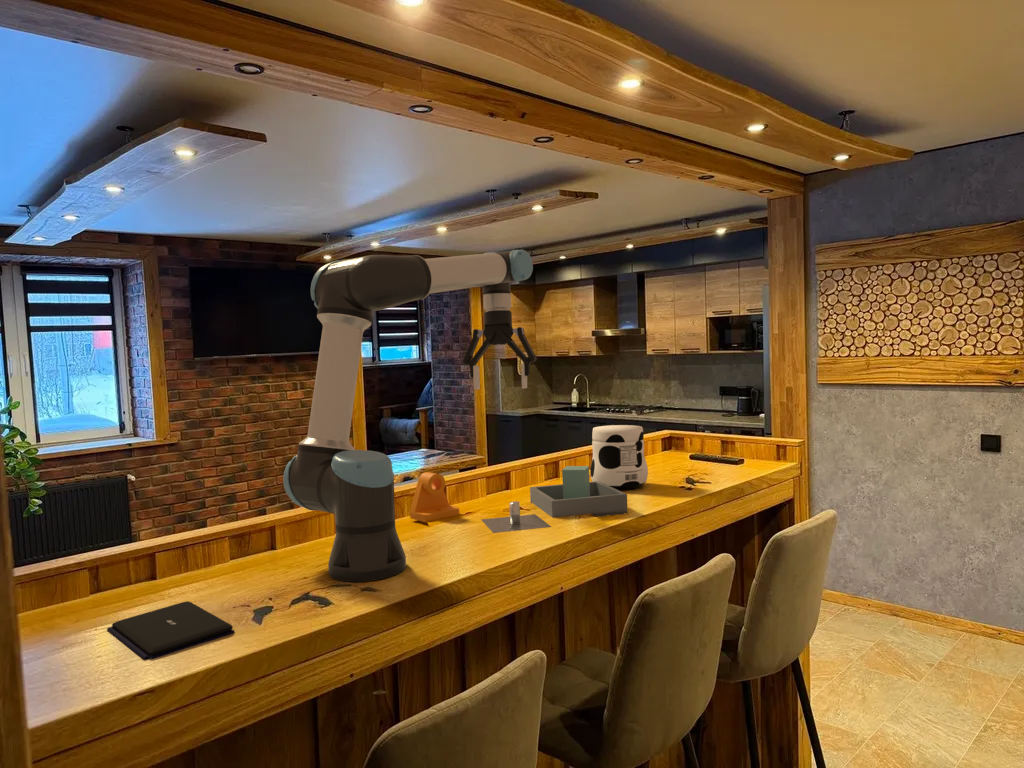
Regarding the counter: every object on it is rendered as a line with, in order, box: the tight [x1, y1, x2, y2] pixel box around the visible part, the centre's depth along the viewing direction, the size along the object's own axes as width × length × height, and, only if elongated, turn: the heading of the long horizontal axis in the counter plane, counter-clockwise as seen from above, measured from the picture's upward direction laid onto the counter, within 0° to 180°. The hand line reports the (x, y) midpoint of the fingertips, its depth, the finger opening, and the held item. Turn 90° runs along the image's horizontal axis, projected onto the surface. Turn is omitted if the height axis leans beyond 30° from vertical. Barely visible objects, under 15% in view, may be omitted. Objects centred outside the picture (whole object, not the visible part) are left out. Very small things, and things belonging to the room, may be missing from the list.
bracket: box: [409, 471, 460, 523], centre depth 183 cm, size 11×7×12 cm, turn 130°
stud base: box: [480, 500, 552, 534], centre depth 172 cm, size 14×14×6 cm
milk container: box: [589, 424, 649, 490], centre depth 217 cm, size 17×17×18 cm
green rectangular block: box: [561, 465, 591, 499], centre depth 188 cm, size 6×6×10 cm
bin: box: [529, 481, 629, 518], centre depth 188 cm, size 20×20×5 cm
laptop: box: [106, 601, 236, 661], centre depth 114 cm, size 16×20×2 cm
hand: (500, 388), depth 194 cm, fingers open, 13 cm apart
